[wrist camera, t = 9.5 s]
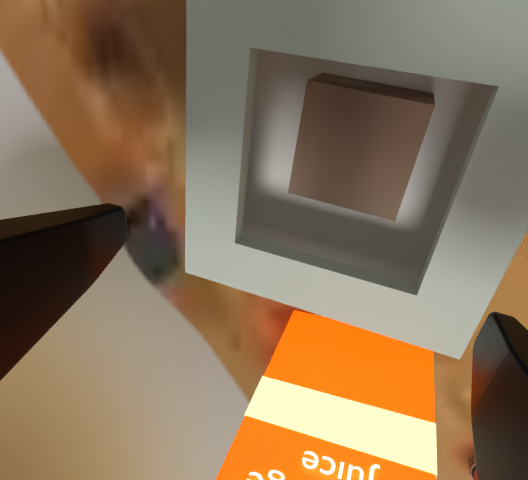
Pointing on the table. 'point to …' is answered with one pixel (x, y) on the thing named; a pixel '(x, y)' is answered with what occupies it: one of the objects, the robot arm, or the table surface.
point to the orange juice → (338, 409)
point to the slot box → (342, 219)
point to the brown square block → (358, 143)
